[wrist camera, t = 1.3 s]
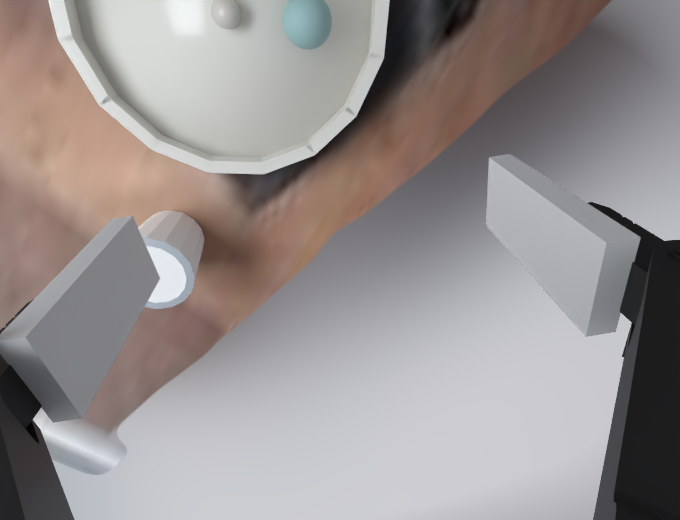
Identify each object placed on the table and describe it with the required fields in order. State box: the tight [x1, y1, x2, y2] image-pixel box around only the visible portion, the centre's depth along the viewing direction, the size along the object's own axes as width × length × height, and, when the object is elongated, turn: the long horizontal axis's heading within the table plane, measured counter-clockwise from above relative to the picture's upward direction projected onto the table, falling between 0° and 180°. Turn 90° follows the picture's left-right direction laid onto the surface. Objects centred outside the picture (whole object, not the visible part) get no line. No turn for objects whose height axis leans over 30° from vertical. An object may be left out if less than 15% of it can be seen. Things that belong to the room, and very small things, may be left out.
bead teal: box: [282, 0, 332, 49], centre depth 29 cm, size 4×4×4 cm
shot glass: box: [138, 210, 204, 309], centre depth 36 cm, size 7×7×7 cm
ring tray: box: [48, 0, 390, 174], centre depth 29 cm, size 23×23×2 cm
